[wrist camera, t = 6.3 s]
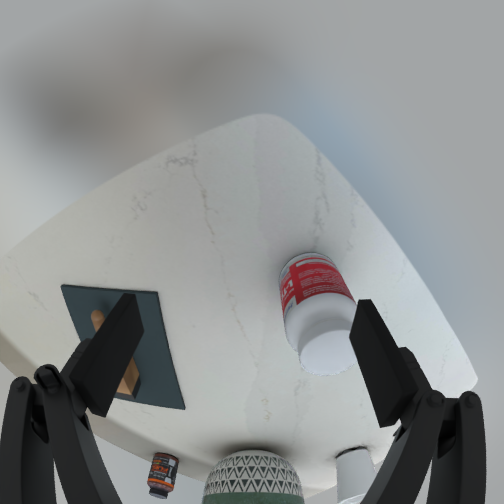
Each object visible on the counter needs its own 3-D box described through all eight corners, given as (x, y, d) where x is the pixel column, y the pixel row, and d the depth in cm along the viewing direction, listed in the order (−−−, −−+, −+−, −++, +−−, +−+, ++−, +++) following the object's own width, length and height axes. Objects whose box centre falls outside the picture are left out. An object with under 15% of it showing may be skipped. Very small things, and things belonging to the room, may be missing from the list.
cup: (381, 443, 45) (393, 488, 33) (354, 461, 48) (363, 502, 37) (347, 443, 43) (358, 494, 32) (322, 461, 47) (328, 507, 35)
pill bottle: (276, 254, 27) (286, 327, 17) (337, 247, 26) (379, 313, 16) (280, 307, 29) (290, 387, 19) (336, 300, 29) (367, 375, 19)
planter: (256, 474, 50) (255, 546, 30) (188, 451, 45) (174, 536, 25) (320, 450, 44) (332, 537, 24) (250, 424, 39) (247, 540, 19)
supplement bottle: (171, 452, 46) (162, 494, 36) (183, 462, 48) (176, 501, 38) (149, 451, 47) (139, 490, 36) (162, 461, 49) (154, 498, 39)
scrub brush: (94, 298, 29) (79, 317, 25) (115, 300, 29) (100, 320, 25) (124, 379, 35) (116, 398, 31) (142, 382, 35) (134, 402, 31)
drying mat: (62, 284, 29) (60, 286, 28) (157, 291, 29) (156, 294, 28) (108, 394, 38) (108, 396, 37) (185, 407, 37) (185, 410, 37)
